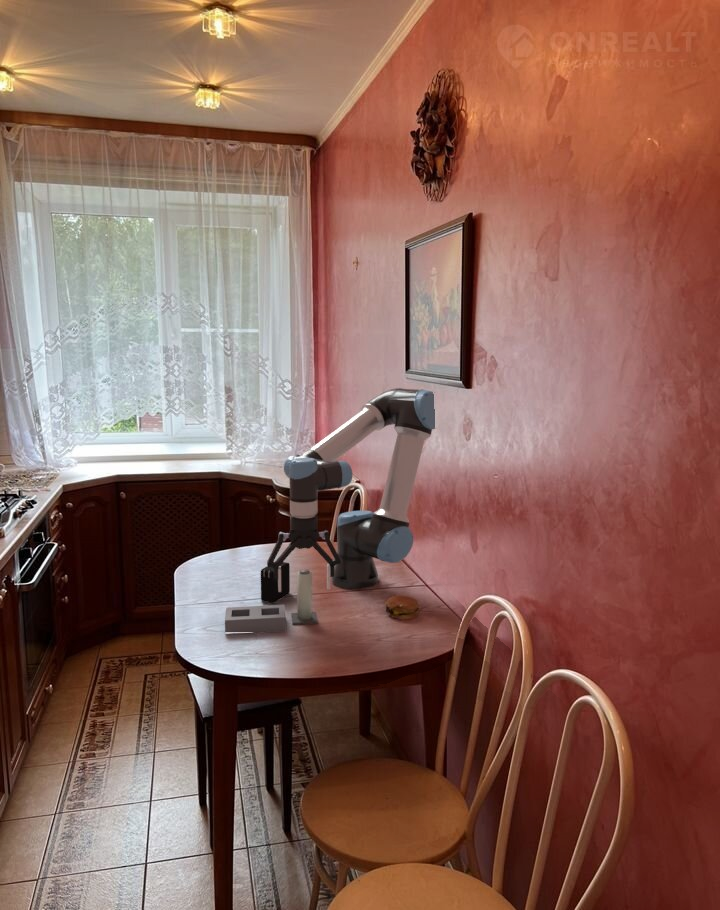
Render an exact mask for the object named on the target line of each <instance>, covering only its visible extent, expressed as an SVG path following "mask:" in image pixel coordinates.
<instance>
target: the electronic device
mask: <svg viewBox="0 0 720 910" xmlns="http://www.w3.org/2000/svg"><path fill="white" fill-rule="evenodd" d="M280 566H281V592H278V579H277V580H275V579H274V568H273V567H268V566H267V565H266V566H265V567H263V568H261V570H260V601H262V602H266V603H271V604H275V603H276V601H277V602H278V601H280V600H282V599H283V598H284V597H286V596H288V595H289V594H290V590H291V589H290V588H291V586H290V584H291V583H290V580H291V577H290V574H291V573H290V572H291V571H290V563H289V562H285V561H283V563H282V564H281V565H280Z"/></svg>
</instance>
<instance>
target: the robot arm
mask: <svg viewBox="0 0 720 910" xmlns="http://www.w3.org/2000/svg"><path fill="white" fill-rule="evenodd" d="M433 392H434V391H431V390H427V389H426V390H425V389H423V388H422V389H415V388H414V389H413V388H412V389H409V388H399V387H398V388H391V389H388V390H387V391H385V392H382V393H380V394H378V395H376V396H375V397H373V398H372V399H370V400H368V401H367V402H366V403H365V404H363V405H362V406H361V408H360V411H359V412H358V413H356V414H355V415H354V416H352V417H351V418H349V419H348V420H347V421H345V422H344V423H343V424H341V426H339V427H338V428H336V429H334V430H333V431H332V432H331V433H329V434H327V435H326V437H324V438H322V439H321V440H320V441H318V442H317V443H316V444H314V445H313V446H312V447H311V448H309V449H308V450H307V451H305V452H304V453H302V454H296V455H295V454H293V455H290V456H289V457H287V458H286V459H285V462H284V464H283V471H284V474H285V476H286V477H287V478H288V479H289V514H290V516H289V518H290V519H289V532H286V533H285V532H283V531H279V532H278V538H277V541H276V543H275V545H274V547H273V549H272V550H271V553H270V554H269V556H268V559H267V561H266V567H267V566H268V567H273V568H274V579H275V580H277V579H278V592H281V566H280V565H281V564H282V563H283V562H285V560H286V559H287V558H288V557H289V556H290V554H291V553H292V552H293V551H294V550H295V549H299V550H302V549H308V550H309V549H311V548H314V549H315V551H317V552H318V553H319V555H320V556H321V557H322V558H323V559H324V560H325V561H326V562H327V564H326V588H327V591H328V590H331V583H332V584H333V585H334V586H336V587H340V588H342V589H350V590H354V589H355V590H357V589H359V590H360V589H369V588H371V587H373V586H376V585H377V584H378V583H379V572H378V569H377V566H376V564H375V561H374V559H377V560H380V561H381V562H387V563H390V564H396V563H399V562H402V561H403V559H405V558H406V557H407V556H409V554H410V553H411V550H412V548H413V544H414V534H413V531H412V530H411V529H410V528H409V527H410V520H409V518H408V516H407V514H408V509H409V507H410V503H411V499H412V493H413V490H414V486H415V483H416V482H415V481H416V477H417V473H418V469H419V464H420V460H421V456H422V452H423V448H424V444H425V440H428V439H429V438H431V435H432V431H433V430H435V429H436V428H435V409H434V394H433ZM392 425H394V426H393V427H394V430H395V432H396V434H397V435H396V440H395V443H394V444H395V445H394V447H393V451H392V456H391V460H390V465H389V469H388V473H387V475H386V476H387V477H386V480H385V485H384V489H383V493H382V497H381V500H380V505H379V508H378V509H377V510H376V511H374V512H373V511H371V510H351V511H346V512H342V513H340V514H339V515H338V517H337V524H336V547H337V548H336V549H335V547H334V544H333V543H332V540H331V538H330V533H329V530H327V529H325V530H323V531H318V529H319V528H318V526H319V525H318V523H319V522H318V519H319V518H318V515H317V514H318V511H319V508H318V503H319V502H318V494H319V493H318V492H322V491H327V490H334V489H341V488H344V487H347V486H349V485H350V484H351V483H352V480H353V469H352V466H351V465H350V463H349V462H347V461H345V460H338V459H339V458H341V457H342V456H343V455H344V454H346V453H348V451H350V450H351V449H352V448H354V447H355V446H357V445H358V444H359V443H360V442H362V441H363V440H364V439H366V438H367V437H368V436H370V435H371V434H372V433H373V432H375V431H381V430H383V429H384V428H385V427H388V426H392ZM320 537H321V539H322V540H325V543H326V545H327V547H328V549H329V551H330V553H331V554H332V556H333V558H334V559H332V558H331V556H330V555H329V554H328V553H327V552H326V551H325V550H324V548H323V547H322V546H320V544H319V543H318V542H317V541H318V540H319V538H320ZM287 539H289V540H290V543H289V544H288V545H287V547H286V548H285V549H284V550H283V551H282V553H281V554H280V555H279V556H278V558H277V555H278V553H279V551H280V550H281V547H282V546H283V542H285V541H286V540H287ZM336 550H337V551H336Z"/></svg>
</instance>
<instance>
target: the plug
mask: <svg viewBox="0 0 720 910" xmlns="http://www.w3.org/2000/svg"><path fill="white" fill-rule="evenodd" d="M296 574H297V576H296V577H297V578H296V579H297V581H296V582H297V583H296V585H297V586H296V588H297V589H296V592H297V594H296V595H297V596H296V597H297V598H296V601H297V603H296V604H297V606H296V607H297V610H296V611H297V612H296V613H297V618H298V619H300V620H309V619H311V618H312V612H313V609H312V607H313V605H312V604H313V599H312V598H313V597H312V595H313V594H312V593H313V589H312V587H313V584H312V583H313V582H312V581H313V577H312V576H313V575H312V574H313V572H312V571H311V570H310V569H307V568H302V569H299V570H298V571H297V573H296Z"/></svg>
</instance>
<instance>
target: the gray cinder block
mask: <svg viewBox="0 0 720 910" xmlns="http://www.w3.org/2000/svg"><path fill="white" fill-rule="evenodd" d="M285 608H286V607H285V604H273V605H272V604H271V605H248V606H229V607H226V608H225V614H224V615H225V617H224V633H225V632H265V633H278V632H279V633H280V632H287V631H286V630H287V623H286V622H287V620H286V619H287V618H286V615H287V614H286V609H285Z"/></svg>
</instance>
